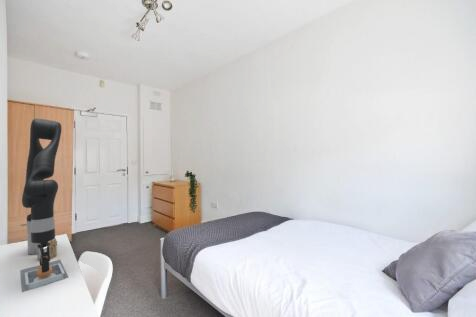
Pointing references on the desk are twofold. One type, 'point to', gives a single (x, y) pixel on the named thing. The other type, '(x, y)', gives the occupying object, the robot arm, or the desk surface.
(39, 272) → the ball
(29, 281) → the mat
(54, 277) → the square tray
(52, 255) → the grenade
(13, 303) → the desk surface
